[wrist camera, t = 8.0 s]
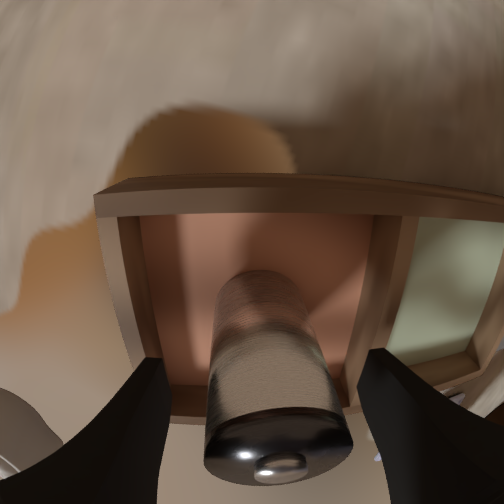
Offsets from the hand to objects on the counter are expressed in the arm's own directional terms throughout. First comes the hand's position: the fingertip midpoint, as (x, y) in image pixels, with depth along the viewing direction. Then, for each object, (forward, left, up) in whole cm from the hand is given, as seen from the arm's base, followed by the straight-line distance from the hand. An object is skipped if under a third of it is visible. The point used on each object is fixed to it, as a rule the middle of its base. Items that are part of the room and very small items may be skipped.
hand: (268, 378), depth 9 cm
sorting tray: (0, -5, -5) cm, 7 cm away
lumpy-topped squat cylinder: (-17, +28, -6) cm, 33 cm away
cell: (0, 0, -4) cm, 4 cm away
